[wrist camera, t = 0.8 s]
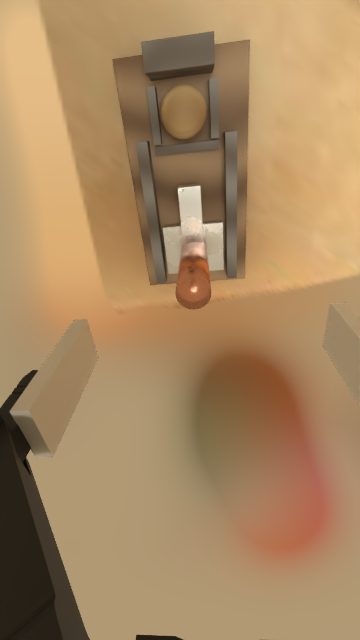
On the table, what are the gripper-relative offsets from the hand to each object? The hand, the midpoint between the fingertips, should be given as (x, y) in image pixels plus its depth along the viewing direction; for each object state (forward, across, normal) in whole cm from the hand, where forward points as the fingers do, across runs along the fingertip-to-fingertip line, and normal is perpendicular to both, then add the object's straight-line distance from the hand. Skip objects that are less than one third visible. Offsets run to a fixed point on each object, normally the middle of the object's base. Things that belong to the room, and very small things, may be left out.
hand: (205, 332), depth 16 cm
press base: (+25, -1, +5) cm, 25 cm away
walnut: (+23, -1, +12) cm, 26 cm away
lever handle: (+23, -1, 0) cm, 23 cm away
